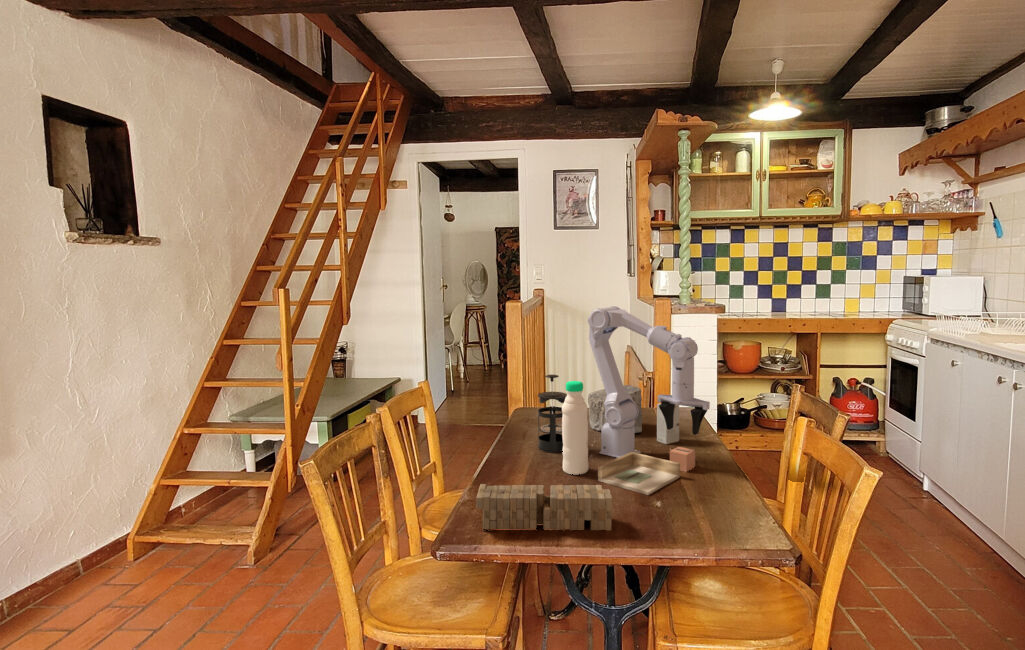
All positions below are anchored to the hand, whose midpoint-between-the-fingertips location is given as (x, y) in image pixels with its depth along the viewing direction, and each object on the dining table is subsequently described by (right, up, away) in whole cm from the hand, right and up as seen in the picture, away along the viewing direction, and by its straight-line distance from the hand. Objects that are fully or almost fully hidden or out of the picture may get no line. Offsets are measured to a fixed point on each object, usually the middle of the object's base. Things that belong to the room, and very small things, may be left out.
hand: (682, 431), depth 165 cm
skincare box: (+2, -8, +25) cm, 26 cm away
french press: (-34, -9, +22) cm, 41 cm away
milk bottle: (-29, -11, +1) cm, 32 cm away
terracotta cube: (0, -10, +1) cm, 10 cm away
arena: (-13, -11, -6) cm, 19 cm away
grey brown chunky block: (-11, -6, +41) cm, 43 cm away
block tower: (-40, -15, -31) cm, 53 cm away
